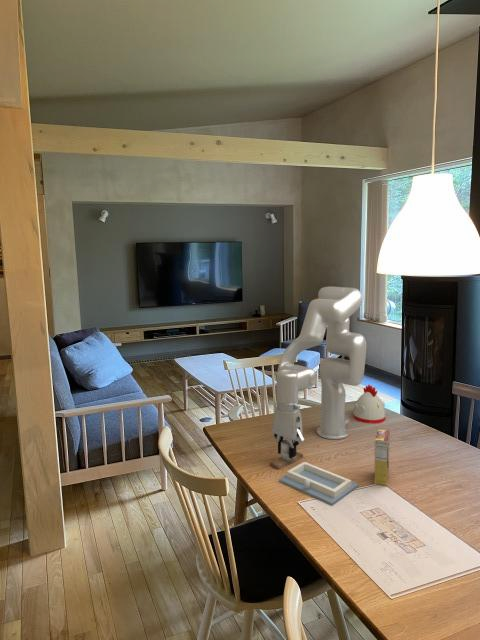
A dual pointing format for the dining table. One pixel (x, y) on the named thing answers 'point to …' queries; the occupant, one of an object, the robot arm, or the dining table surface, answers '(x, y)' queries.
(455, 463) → the dining table surface
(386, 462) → the candy box
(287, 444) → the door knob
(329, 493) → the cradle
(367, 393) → the kitchen timer
